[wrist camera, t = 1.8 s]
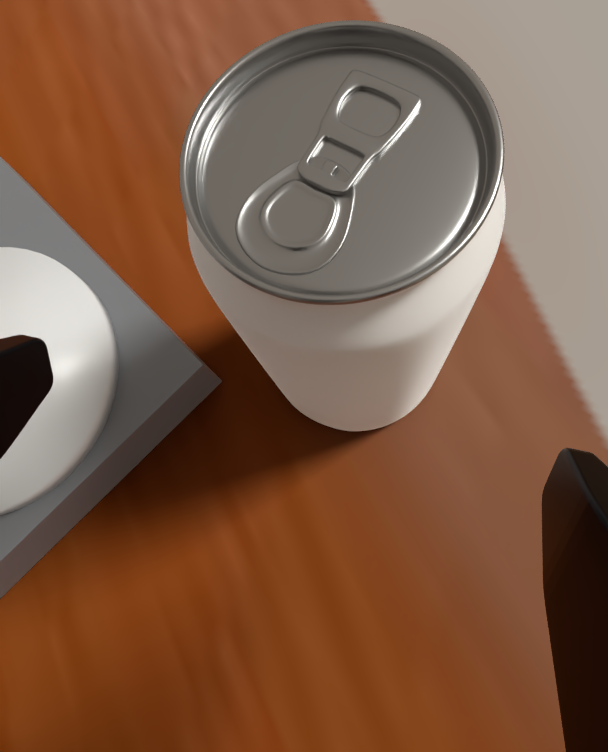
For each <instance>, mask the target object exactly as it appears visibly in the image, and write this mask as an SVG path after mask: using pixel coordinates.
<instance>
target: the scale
mask: <svg viewBox="0 0 608 752" xmlns="http://www.w3.org/2000/svg"><path fill="white" fill-rule="evenodd" d="M15 335H27V336H31V337H36V338H40V339H42V340H43V341H44V342H45V344H46V346H47V349H48V354H49V359H50V363H51V368H52V372H53V385H52V388H51V390H50V391H49V393H48V394H47V396H46V397H45V398H44V400H43V401H42V403H41V404H40V406H39V407H38V408H37V410H36V411H35V413H34V414H33V415H32V417H31V418H30V420H29V421H28V423H27V424H26V425H25V427H24V428H23V430H22V431H21V432H20V434H19V435H18V437H17V438H16V440H15V441H14V442H13V444H12V445H11V446H10V448H9V449H8V450H7V452H6V453H5V454H4V456H3V457H2V458H1V459H0V598H1V597H2V596H3V595H5V594H6V593H7V592H8V591H9V590H10V589H11V588H12V587H13V586H14V585H15V584H16V583H17V582H18V581H19V580H20V579H21V578H22V577H23V576H24V575H25V574H26V573H27V572H28V571H29V570H30V569H31V568H32V567H33V566H34V565H35V564H36V563H37V562H38V561H39V560H40V559H41V558H42V557H43V556H44V555H45V554H46V553H47V552H48V551H49V550H50V549H52V548H53V547H54V546H55V545H56V544H57V543H58V542H59V541H60V540H61V539H62V538H63V537H64V536H65V535H66V534H67V533H68V532H69V531H70V530H71V529H72V528H73V527H74V526H75V525H76V524H77V523H78V522H79V521H80V520H81V519H82V518H83V517H84V516H85V515H86V514H87V513H88V512H89V511H90V510H91V509H92V508H93V507H94V506H95V505H96V504H98V503H99V502H100V501H101V500H102V499H103V498H104V497H105V496H106V495H107V494H108V493H109V492H110V491H111V490H112V489H113V488H114V487H115V486H116V485H117V484H118V483H119V482H120V481H121V480H122V479H123V478H124V477H125V476H126V475H127V474H128V473H129V472H130V471H131V470H132V469H133V468H134V467H135V466H136V465H137V464H138V463H139V462H140V461H141V460H142V459H144V458H145V457H146V456H147V455H148V454H149V453H150V452H151V451H152V450H153V449H154V448H155V447H156V446H157V445H158V444H159V443H160V442H161V441H162V440H163V439H164V438H165V437H166V436H167V435H168V434H169V433H170V432H171V431H172V430H173V429H174V428H175V427H176V426H177V425H178V424H179V423H180V422H181V421H182V420H183V419H184V418H185V417H186V416H187V415H188V414H190V413H191V412H192V411H193V410H194V409H195V408H196V407H197V406H198V405H199V404H200V403H201V402H202V401H203V400H204V399H205V398H206V397H207V396H208V395H209V394H210V393H211V392H212V391H213V390H214V389H215V388H216V387H217V386H218V385H219V384H220V383H221V382H222V380H221V379H220V378H219V377H218V376H217V375H216V374H215V373H214V372H213V371H212V370H211V369H210V368H209V367H208V366H207V365H206V364H205V363H204V362H203V361H202V360H201V359H200V358H199V357H198V356H197V355H196V354H195V353H194V352H193V351H192V350H191V349H190V348H189V347H188V346H187V345H186V344H185V343H184V341H183V340H182V339H181V338H180V337H179V336H178V335H177V334H176V333H175V332H174V331H173V330H172V329H171V328H170V327H169V326H168V325H167V324H166V323H165V322H164V321H163V320H162V319H161V318H160V317H159V316H158V315H157V314H156V313H155V312H154V311H153V310H152V309H151V308H150V307H149V306H148V305H147V304H146V303H145V302H144V301H143V300H142V299H141V298H140V297H139V296H138V295H137V294H136V293H135V292H134V290H133V289H132V288H131V287H130V286H129V285H128V284H127V283H126V282H125V281H124V280H123V279H122V278H121V277H120V276H119V275H118V274H117V273H116V272H115V271H114V270H113V269H112V268H111V267H110V266H109V265H108V264H107V263H106V262H105V261H104V260H103V259H102V258H101V257H100V256H99V255H98V254H97V253H96V252H95V251H94V250H93V249H92V248H91V247H90V246H89V245H88V244H87V243H86V242H85V240H84V239H83V238H82V237H81V236H80V235H79V234H78V233H77V232H76V231H75V230H74V229H73V228H72V227H71V226H70V225H69V224H68V223H67V222H66V221H65V220H64V219H63V218H62V217H61V216H60V215H59V214H58V213H57V212H56V211H55V210H54V209H53V208H52V207H51V206H50V205H49V204H48V203H47V202H46V201H45V200H44V199H43V198H42V197H41V196H40V195H39V194H38V193H37V192H36V191H35V189H34V188H33V187H32V186H31V185H30V184H29V183H28V182H27V181H26V180H25V179H24V178H22V177H21V176H20V175H19V174H18V173H17V172H16V171H15V170H14V169H13V168H12V167H11V166H10V165H9V164H8V163H7V162H6V161H5V160H4V159H2V158H1V157H0V339H2V338H6V337H11V336H15Z"/></svg>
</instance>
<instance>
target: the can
mask: <svg viewBox="0 0 608 752" xmlns="http://www.w3.org/2000/svg"><path fill="white" fill-rule="evenodd" d="M503 165H504V139H503V131H502V126H501V122H500V118H499V115H498V112H497V109H496V107H495V104H494V102H493V100H492V98H491V96H490V94H489V92H488V90H487V89H486V87H485V85H484V84H483V83H482V81H481V80H480V78H479V77H478V76H477V75H476V73H475V72H474V71H473V70H472V69H471V68H470V67H469V66H468V65H467V64H466V63H465V62H464V61H463V60H462V59H461V58H460V57H459V56H457V55H456V54H455V53H454V52H452V51H451V50H450V49H448V48H447V47H445V46H444V45H442V44H440V43H438V42H437V41H435V40H433V39H431V38H429V37H427V36H425V35H423V34H420V33H418V32H415V31H412V30H410V29H407V28H404V27H400V26H396V25H392V24H387V23H381V22H373V21H335V22H327V23H321V24H315V25H311V26H307V27H303V28H300V29H296V30H293V31H290V32H288V33H285V34H282V35H280V36H278V37H275V38H273V39H271V40H269V41H267V42H265V43H263V44H262V45H260V46H258V47H256V48H255V49H253V50H252V51H250V52H249V53H247V54H246V55H244V56H243V57H242V58H240V59H239V60H238V61H236V62H235V63H234V64H233V65H232V66H230V67H229V68H228V69H227V70H226V71H225V72H224V73H223V74H222V75H221V76H220V77H219V78H218V79H217V80H216V81H215V83H214V84H213V85H212V86H211V87H210V89H209V90H208V91H207V93H206V94H205V95H204V97H203V98H202V100H201V101H200V103H199V105H198V106H197V108H196V110H195V112H194V114H193V116H192V118H191V120H190V123H189V125H188V128H187V131H186V133H185V137H184V140H183V144H182V149H181V155H180V164H179V181H180V191H181V196H182V201H183V205H184V209H185V212H186V215H187V231H188V239H189V244H190V249H191V253H192V256H193V259H194V262H195V265H196V267H197V270H198V272H199V274H200V276H201V279H202V281H203V283H204V285H205V286H206V288H207V290H208V291H209V293H210V295H211V296H212V298H213V299H214V301H215V302H216V304H217V305H218V307H219V308H220V310H221V311H222V312H223V314H224V315H225V317H226V318H227V319H228V321H229V322H230V323H231V325H232V326H233V328H234V329H235V330H236V332H237V333H238V334H239V336H240V337H241V338H242V340H243V341H244V343H245V344H246V345H247V347H248V348H249V349H250V351H251V352H252V353H253V355H254V356H255V357H256V359H257V360H258V361H259V363H260V364H261V365H262V367H263V368H264V369H265V371H266V372H267V373H268V375H269V376H270V377H271V379H272V380H273V381H274V382H275V384H276V385H277V386H278V388H279V389H280V390H281V392H282V393H283V394H284V395H285V397H286V398H287V399H288V400H289V402H290V403H291V404H292V405H293V406H294V407H295V408H296V409H297V410H299V411H300V412H301V413H302V414H304V415H305V416H307V417H309V418H310V419H312V420H314V421H316V422H318V423H321V424H323V425H326V426H329V427H332V428H335V429H339V430H344V431H367V430H373V429H377V428H381V427H384V426H387V425H389V424H391V423H393V422H395V421H397V420H399V419H401V418H402V417H404V416H405V415H407V414H408V413H409V412H411V411H412V410H413V409H414V408H415V407H416V406H417V405H418V404H419V403H420V402H421V401H422V400H423V398H424V397H425V396H426V394H427V393H428V391H429V390H430V388H431V386H432V385H433V383H434V381H435V379H436V377H437V375H438V374H439V372H440V370H441V368H442V366H443V364H444V362H445V360H446V358H447V356H448V354H449V352H450V350H451V348H452V346H453V344H454V342H455V340H456V338H457V336H458V334H459V332H460V330H461V328H462V326H463V324H464V322H465V320H466V318H467V316H468V314H469V312H470V310H471V308H472V306H473V304H474V302H475V300H476V298H477V296H478V294H479V292H480V290H481V288H482V286H483V284H484V282H485V279H486V277H487V275H488V273H489V270H490V268H491V266H492V263H493V261H494V258H495V256H496V253H497V250H498V247H499V243H500V239H501V235H502V231H503V226H504V220H505V207H506V204H505V203H506V200H505V187H504V180H503V175H502V172H503Z"/></svg>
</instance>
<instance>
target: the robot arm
mask: <svg viewBox="0 0 608 752" xmlns="http://www.w3.org/2000/svg"><path fill="white" fill-rule="evenodd" d="M52 385H53V372H52V368H51V363H50V359H49V354H48V349H47V346H46V344H45V342H44V341H43V340H42V339H40V338H36V337H31V336H27V335H15V336H11V337H6V338H2V339H0V459H1V458H2V457H3V456H4V454H5V453H6V452H7V450H8V449H9V448H10V446H11V445H12V444H13V442H14V441H15V440H16V438H17V437H18V435H19V434H20V432H21V431H22V430H23V428H24V427H25V425H26V424H27V423H28V421H29V420H30V418H31V417H32V415H33V414H34V413H35V411H36V410H37V408H38V407H39V406H40V404H41V403H42V401H43V400H44V398H45V397H46V396H47V394H48V393H49V391H50V390H51V388H52ZM542 547H543V589H544V598H545V607H546V614H547V621H548V628H549V635H550V642H551V649H552V656H553V663H554V670H555V678H556V685H557V692H558V699H559V706H560V713H561V720H562V727H563V734H564V741H565V748H566V752H608V467H607V466H606V465H605V464H604V463H603V462H602V461H601V460H600V459H599V458H598V457H597V456H595V455H594V454H593V453H590V452H586V451H581V450H576V449H571V448H565V449H563V450H562V451H561V452H560V453H559V455H558V457H557V459H556V461H555V464H554V466H553V468H552V470H551V473H550V475H549V477H548V480H547V482H546V484H545V487H544V490H543V495H542Z"/></svg>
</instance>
